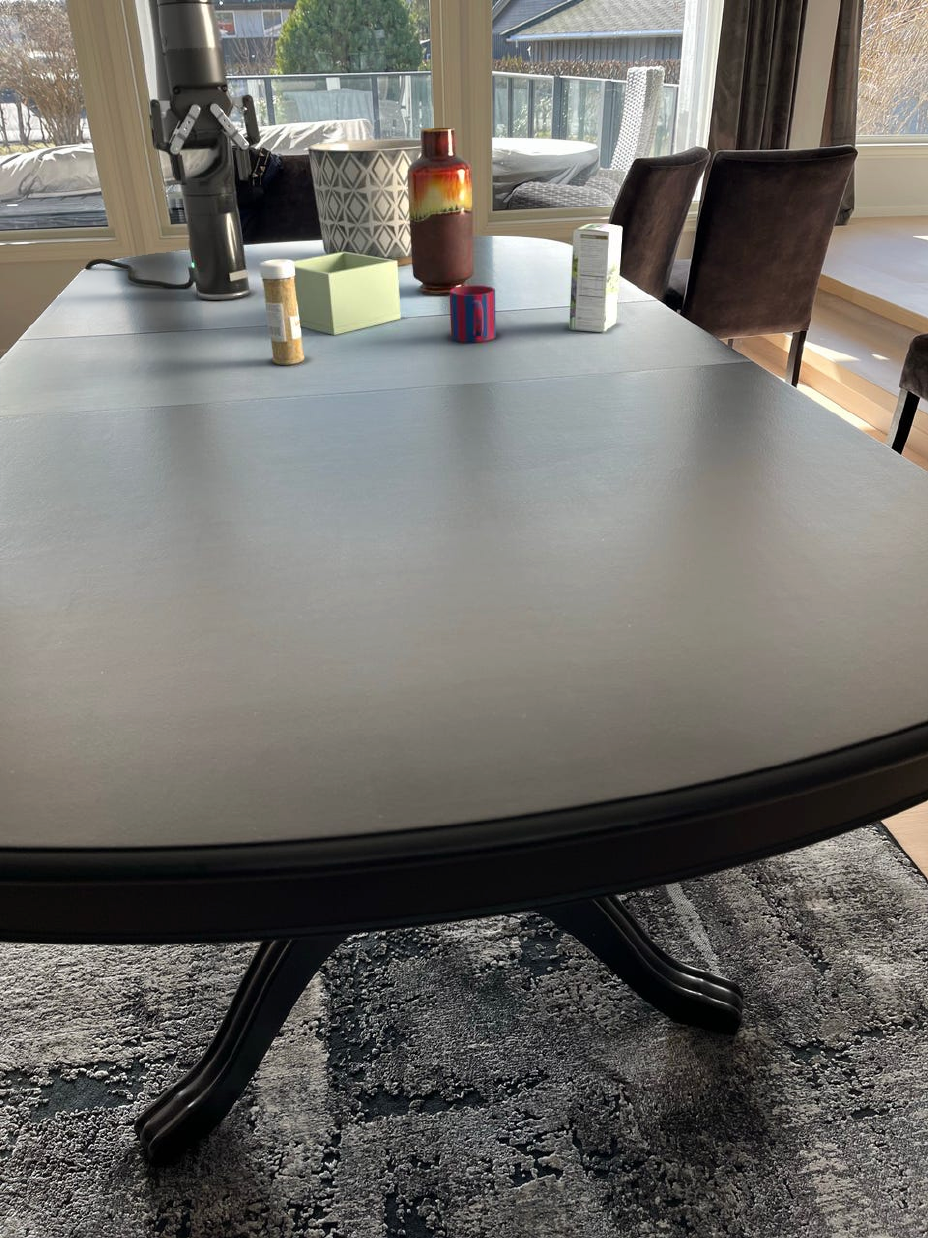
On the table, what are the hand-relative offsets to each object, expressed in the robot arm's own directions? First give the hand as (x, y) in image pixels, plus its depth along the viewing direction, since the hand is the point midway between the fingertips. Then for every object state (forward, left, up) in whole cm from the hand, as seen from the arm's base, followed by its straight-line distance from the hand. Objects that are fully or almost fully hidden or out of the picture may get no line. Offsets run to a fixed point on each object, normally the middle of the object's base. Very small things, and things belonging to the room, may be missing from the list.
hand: (213, 181), depth 131 cm
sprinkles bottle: (+14, -1, -23) cm, 27 cm away
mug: (+26, +24, -23) cm, 42 cm away
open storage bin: (+1, +19, -22) cm, 29 cm away
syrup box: (+35, +41, -23) cm, 59 cm away
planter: (-35, +57, -23) cm, 71 cm away
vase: (-3, +45, -23) cm, 51 cm away
